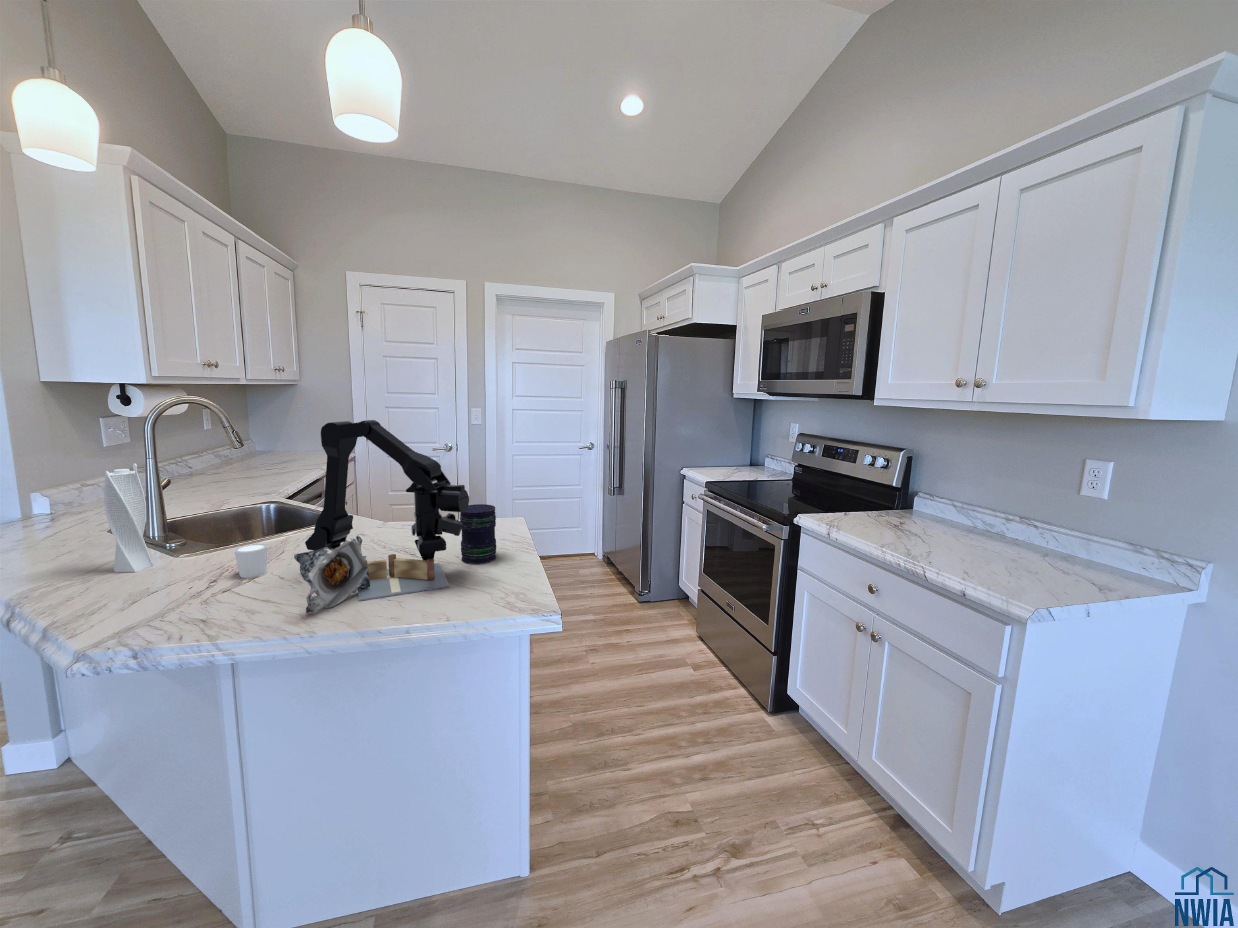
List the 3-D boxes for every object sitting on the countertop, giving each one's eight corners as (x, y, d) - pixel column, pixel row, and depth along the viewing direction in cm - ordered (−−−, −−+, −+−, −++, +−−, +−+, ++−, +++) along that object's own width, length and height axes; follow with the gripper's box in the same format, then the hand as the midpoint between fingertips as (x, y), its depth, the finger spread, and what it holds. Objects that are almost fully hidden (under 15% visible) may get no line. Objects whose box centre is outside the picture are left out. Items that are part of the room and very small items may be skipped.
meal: (357, 585, 122) (351, 534, 120) (371, 588, 121) (365, 535, 119) (300, 612, 108) (293, 555, 106) (315, 615, 107) (308, 557, 105)
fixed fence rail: (360, 582, 125) (359, 563, 124) (360, 579, 126) (359, 560, 125) (387, 578, 127) (386, 559, 127) (387, 576, 129) (386, 557, 128)
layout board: (358, 601, 115) (358, 599, 115) (358, 574, 130) (357, 573, 130) (449, 586, 124) (449, 585, 124) (438, 563, 140) (438, 562, 140)
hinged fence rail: (387, 576, 128) (386, 556, 127) (392, 573, 130) (391, 553, 129) (432, 580, 126) (431, 559, 125) (436, 577, 128) (435, 557, 127)
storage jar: (475, 567, 138) (474, 514, 136) (453, 559, 144) (452, 508, 141) (503, 557, 146) (503, 507, 143) (482, 550, 151) (481, 502, 149)
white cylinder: (275, 571, 132) (273, 546, 131) (247, 580, 125) (244, 553, 124) (259, 567, 134) (257, 542, 133) (230, 575, 128) (228, 549, 127)
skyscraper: (162, 563, 136) (150, 461, 132) (137, 573, 128) (123, 465, 124) (132, 563, 135) (119, 461, 131) (105, 573, 128) (90, 465, 124)
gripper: (466, 515, 123) (468, 575, 126) (453, 499, 140) (454, 553, 142) (418, 519, 118) (420, 582, 120) (410, 502, 134) (412, 558, 137)
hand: (429, 568), depth 130 cm, fingers closed
